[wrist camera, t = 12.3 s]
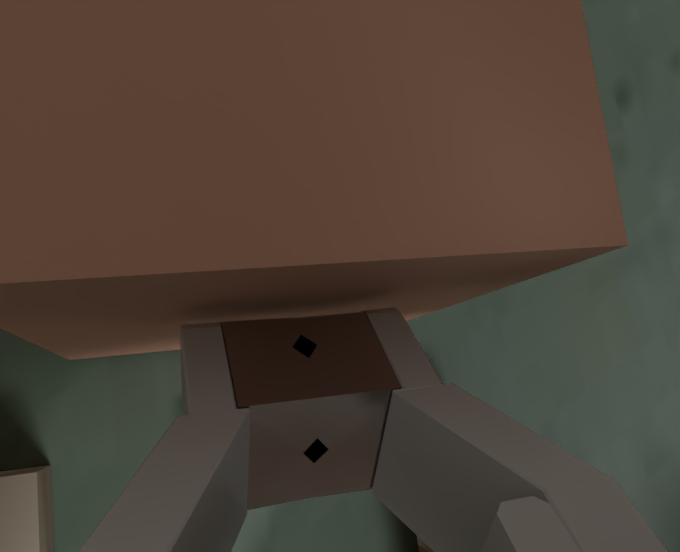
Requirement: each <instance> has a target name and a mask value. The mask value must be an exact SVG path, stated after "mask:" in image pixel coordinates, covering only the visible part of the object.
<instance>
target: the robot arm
mask: <svg viewBox="0 0 680 552" xmlns="http://www.w3.org/2000/svg"><path fill="white" fill-rule="evenodd" d="M180 352H181V377H182V399H183V416H178V417H176V418H175V420H174V421H173V422H172V424H171V425H170V427H169V428H168V429H167V431H166V432H165V434H164V435H163V436H162V438H161V439H160V440H159V442H158V443H157V445H156V446H155V447H154V449H153V450H152V452H151V453H150V454H149V456H148V457H147V458H146V460H145V461H144V463H143V464H142V465H141V467H140V468H139V470H138V471H137V472H136V474H135V475H134V477H133V478H132V479H131V481H130V482H129V483H128V485H127V486H126V488H125V489H124V490H123V492H122V493H121V495H120V496H119V497H118V499H117V500H116V502H115V503H114V504H113V506H112V507H111V508H110V510H109V511H108V513H107V514H106V515H105V517H104V518H103V520H102V521H101V522H100V524H99V525H98V526H97V528H96V529H95V531H94V532H93V533H92V535H91V536H90V538H89V539H88V540H87V542H86V543H85V545H84V546H83V547H82V549H81V550H80V551H79V552H231V550H232V548H233V546H234V543H235V541H236V539H237V536H238V534H239V532H240V529H241V527H242V525H243V522H244V520H245V518H246V515H247V510H251V509H256V508H261V507H266V506H271V505H277V504H282V503H287V502H292V501H297V500H302V499H308V498H314V497H322V496H329V495H336V494H344V493H351V492H358V491H365V490H372V494H373V495H374V496H376V497H377V498H378V499H379V500H380V501H381V502H382V503H383V504H384V505H385V506H386V507H387V508H388V509H389V510H390V511H391V512H393V513H394V514H395V515H396V516H397V517H398V518H399V519H400V520H401V521H402V522H403V523H404V524H405V525H406V526H407V527H408V528H409V529H411V530H412V531H413V532H414V533H415V534H416V535H417V536H418V537H419V538H420V539H421V540H422V541H423V542H424V543H425V544H426V545H428V546H429V547H430V548H431V549H432V550H433V551H434V552H668V551H667V550H666V548H665V547H664V546H663V544H662V543H661V542H660V540H659V539H658V538H657V536H656V535H655V534H654V532H653V531H652V530H651V528H650V527H649V526H648V524H647V523H646V522H645V520H644V519H643V518H642V516H641V515H640V514H639V512H638V511H637V510H636V508H635V507H634V505H633V504H632V503H631V501H630V500H629V499H628V497H627V496H626V495H625V493H624V492H623V491H622V489H621V488H620V487H619V485H618V484H617V483H616V481H615V480H614V479H613V478H611V477H609V476H608V475H606V474H604V473H603V472H601V471H599V470H598V469H596V468H594V467H593V466H591V465H589V464H588V463H586V462H584V461H583V460H581V459H579V458H578V457H576V456H574V455H572V454H571V453H569V452H567V451H566V450H564V449H562V448H561V447H559V446H557V445H556V444H554V443H552V442H551V441H549V440H547V439H546V438H544V437H542V436H540V435H539V434H537V433H535V432H534V431H532V430H530V429H529V428H527V427H525V426H524V425H522V424H520V423H519V422H517V421H515V420H514V419H512V418H510V417H509V416H507V415H505V414H503V413H502V412H500V411H498V410H497V409H495V408H493V407H492V406H490V405H488V404H487V403H485V402H483V401H482V400H480V399H478V398H477V397H475V396H473V395H471V394H470V393H468V392H466V391H465V390H463V389H461V388H460V387H458V386H456V385H455V384H453V383H450V384H442V382H441V381H440V379H439V377H438V375H437V374H436V372H435V370H434V369H433V367H432V365H431V363H430V362H429V360H428V358H427V356H426V355H425V353H424V351H423V350H422V348H421V346H420V344H419V343H418V341H417V339H416V337H415V336H414V334H413V332H412V330H411V329H410V327H409V325H408V324H407V322H406V320H405V318H404V317H403V315H402V313H401V311H400V310H398V309H396V308H395V307H392V308H382V309H373V310H364V311H361V312H354V313H343V314H331V315H320V316H309V317H297V318H277V319H260V320H244V321H228V322H220V324H219V323H218V322H217V323H203V324H189V325H180Z"/></svg>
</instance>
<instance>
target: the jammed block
mask: <svg viewBox="0 0 680 552" xmlns="http://www.w3.org/2000/svg"><path fill="white" fill-rule="evenodd" d="M627 245H628V242H627V236H626V231H625V226H624V221H623V216H622V211H621V205H620V200H619V195H618V190H617V185H616V180H615V174H614V169H613V164H612V159H611V154H610V149H609V143H608V138H607V133H606V128H605V123H604V118H603V112H602V107H601V102H600V97H599V92H598V87H597V81H596V76H595V71H594V66H593V61H592V56H591V50H590V45H589V40H588V35H587V30H586V25H585V19H584V14H583V9H582V4H581V0H0V329H2V330H4V331H6V332H9V333H11V334H13V335H15V336H17V337H20V338H22V339H24V340H26V341H29V342H31V343H33V344H35V345H37V346H40V347H42V348H44V349H46V350H48V351H51V352H53V353H55V354H57V355H59V356H62V357H64V358H66V359H68V360H74V359H85V358H95V357H106V356H117V355H127V354H138V353H149V352H159V351H170V350H180V325H189V324H203V323H217V322H218V323H219V324H220V322H228V321H244V320H260V319H277V318H297V317H309V316H320V315H331V314H343V313H354V312H361V311H364V310H373V309H382V308H392V307H395V308H396V309H398V310H400V311H401V313H402V315H403V317H404V318H405V320H406V321H407V320H410V319H413V318H416V317H419V316H422V315H425V314H428V313H431V312H434V311H436V310H439V309H442V308H445V307H448V306H451V305H454V304H457V303H460V302H463V301H466V300H469V299H472V298H475V297H478V296H481V295H483V294H486V293H489V292H492V291H495V290H498V289H501V288H504V287H507V286H510V285H513V284H516V283H519V282H522V281H525V280H528V279H530V278H533V277H536V276H539V275H542V274H545V273H548V272H551V271H554V270H557V269H560V268H563V267H566V266H569V265H572V264H575V263H577V262H580V261H583V260H586V259H589V258H592V257H595V256H598V255H601V254H604V253H607V252H610V251H613V250H616V249H619V248H622V247H624V246H627Z"/></svg>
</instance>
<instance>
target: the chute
mask: <svg viewBox="0 0 680 552" xmlns="http://www.w3.org/2000/svg"><path fill="white" fill-rule="evenodd" d="M417 542H418V550H419V552H434V551H433V550H432V549H431V548H430V547H429V546H428V545H426V544H425V543H424V542H423V541H422V540H421V539H420V538H419V537H418V536H417ZM0 552H54V549H53V523H52V496H51V469H50V465H46V466H38V467H31V468H24V469H16V470H9V471H2V472H0Z"/></svg>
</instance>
